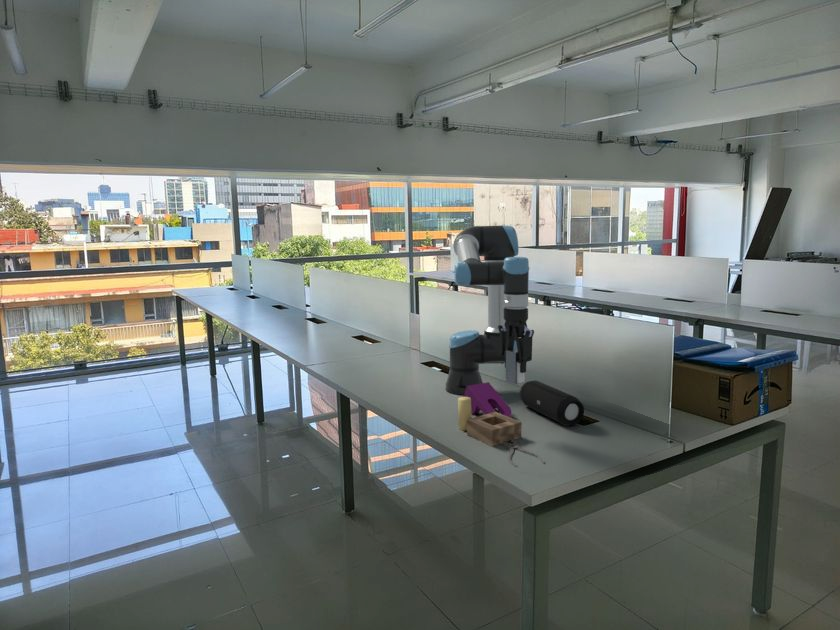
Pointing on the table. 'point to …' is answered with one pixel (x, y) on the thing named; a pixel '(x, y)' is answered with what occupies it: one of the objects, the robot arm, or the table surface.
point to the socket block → (494, 428)
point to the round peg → (464, 412)
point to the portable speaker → (552, 402)
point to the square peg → (511, 365)
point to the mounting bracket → (486, 399)
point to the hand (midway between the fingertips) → (515, 380)
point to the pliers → (516, 446)
